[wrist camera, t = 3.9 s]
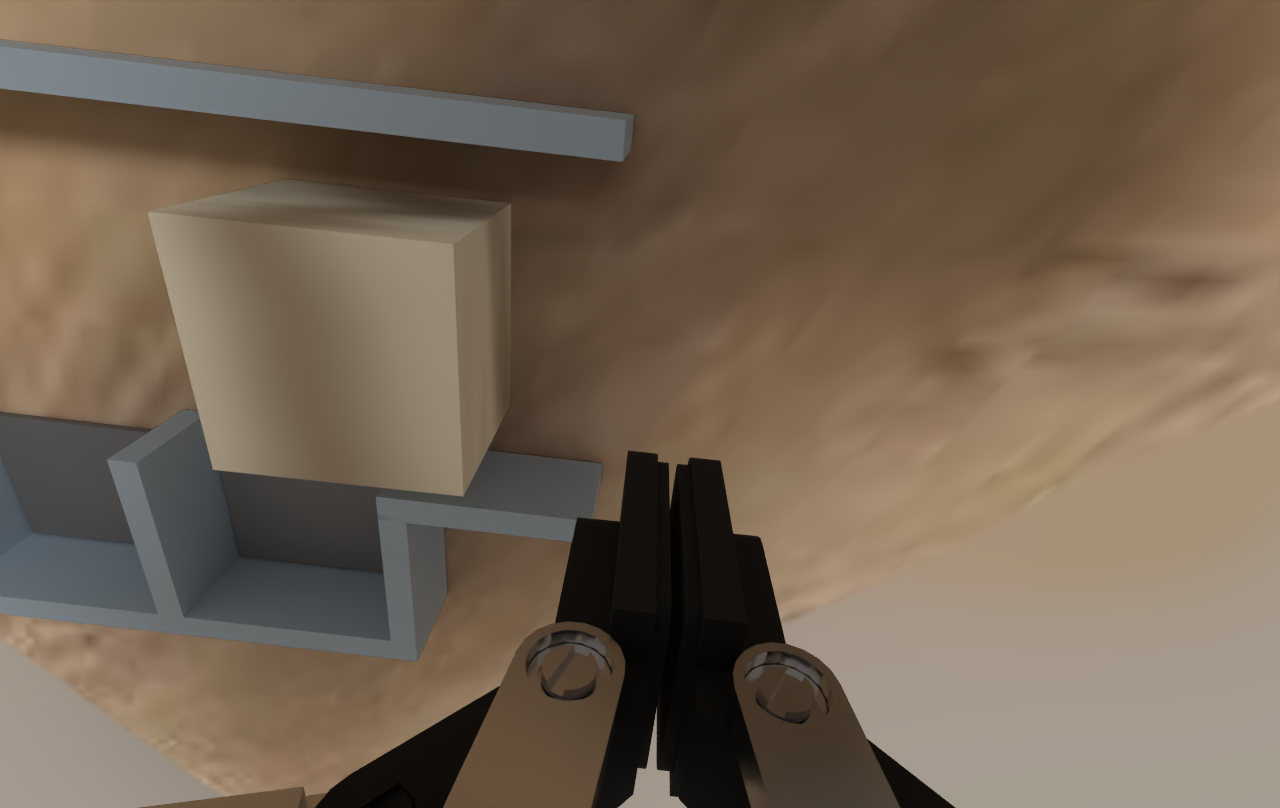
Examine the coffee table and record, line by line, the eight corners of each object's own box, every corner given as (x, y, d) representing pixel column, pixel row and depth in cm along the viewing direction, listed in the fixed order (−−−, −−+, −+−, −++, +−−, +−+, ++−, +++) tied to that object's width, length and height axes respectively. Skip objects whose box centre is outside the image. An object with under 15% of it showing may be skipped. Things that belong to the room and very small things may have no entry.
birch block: (512, 202, 17) (453, 244, 12) (511, 402, 19) (463, 496, 15) (287, 178, 17) (147, 211, 12) (318, 382, 19) (212, 469, 15)
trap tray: (634, 114, 15) (626, 120, 13) (588, 610, 23) (577, 679, 20) (-498, -20, 15) (-747, -43, 13) (-171, 523, 23) (-282, 581, 20)
